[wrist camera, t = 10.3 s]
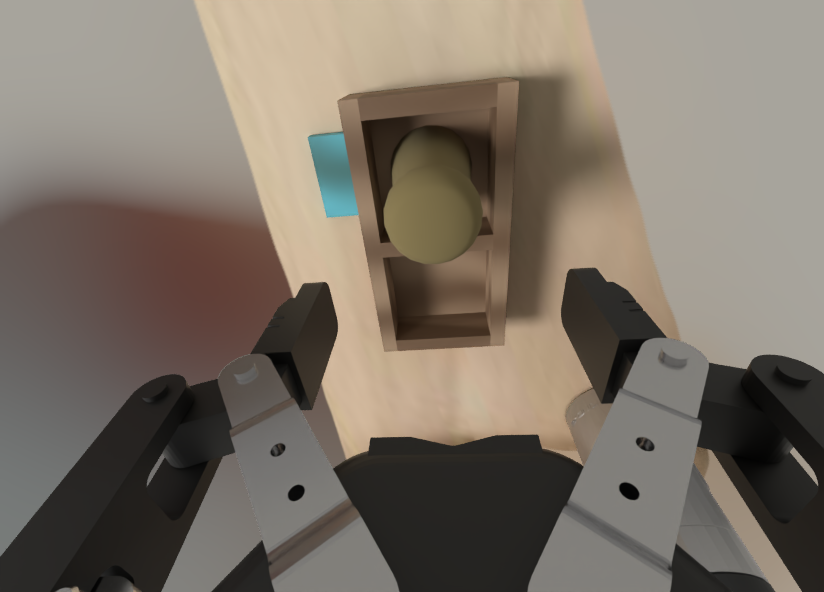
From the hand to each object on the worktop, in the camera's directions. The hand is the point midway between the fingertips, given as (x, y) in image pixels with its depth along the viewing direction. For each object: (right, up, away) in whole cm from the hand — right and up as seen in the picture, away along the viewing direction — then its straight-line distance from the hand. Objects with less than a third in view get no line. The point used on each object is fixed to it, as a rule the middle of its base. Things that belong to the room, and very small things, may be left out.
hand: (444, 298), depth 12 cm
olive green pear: (0, +10, +15) cm, 18 cm away
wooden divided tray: (-1, +6, +18) cm, 19 cm away
